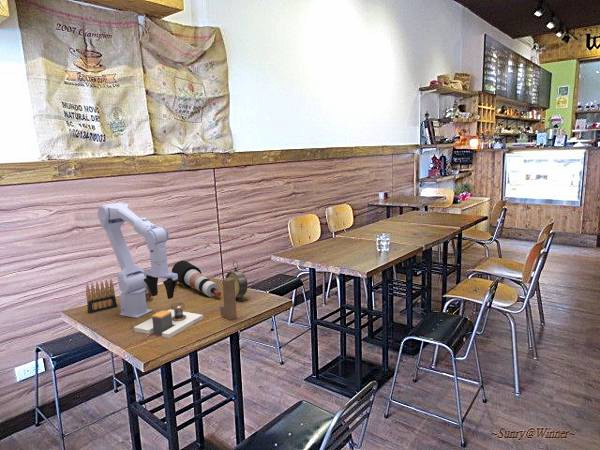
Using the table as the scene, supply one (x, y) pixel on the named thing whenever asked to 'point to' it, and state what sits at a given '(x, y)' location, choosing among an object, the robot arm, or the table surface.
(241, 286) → the alarm clock
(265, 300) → the table surface
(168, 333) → the notched board
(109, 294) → the ammunition clip
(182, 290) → the table surface
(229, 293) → the wooden block
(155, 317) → the grey and orange block
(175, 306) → the bronze knob
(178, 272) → the cable
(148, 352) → the table surface
